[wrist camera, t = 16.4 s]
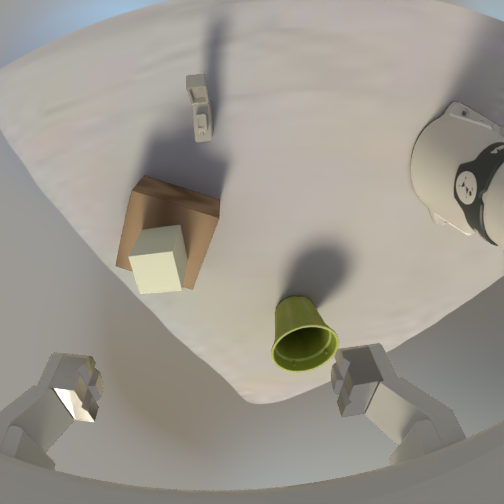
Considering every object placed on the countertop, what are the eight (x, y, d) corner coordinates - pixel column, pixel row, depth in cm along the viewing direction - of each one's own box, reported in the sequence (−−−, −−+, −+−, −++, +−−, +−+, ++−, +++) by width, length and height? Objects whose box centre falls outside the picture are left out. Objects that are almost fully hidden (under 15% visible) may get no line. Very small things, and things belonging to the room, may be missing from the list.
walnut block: (220, 199, 40) (219, 218, 35) (196, 264, 44) (192, 289, 39) (144, 175, 38) (131, 190, 32) (127, 242, 42) (115, 266, 37)
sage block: (180, 224, 35) (172, 251, 29) (187, 259, 37) (182, 290, 32) (141, 229, 35) (128, 256, 29) (151, 263, 37) (140, 294, 32)
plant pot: (334, 309, 50) (351, 347, 42) (289, 341, 52) (298, 380, 45) (300, 274, 46) (314, 313, 39) (252, 311, 49) (256, 352, 41)
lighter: (213, 135, 36) (210, 147, 29) (198, 136, 36) (191, 149, 29) (208, 76, 32) (204, 73, 25) (193, 78, 32) (184, 75, 25)
